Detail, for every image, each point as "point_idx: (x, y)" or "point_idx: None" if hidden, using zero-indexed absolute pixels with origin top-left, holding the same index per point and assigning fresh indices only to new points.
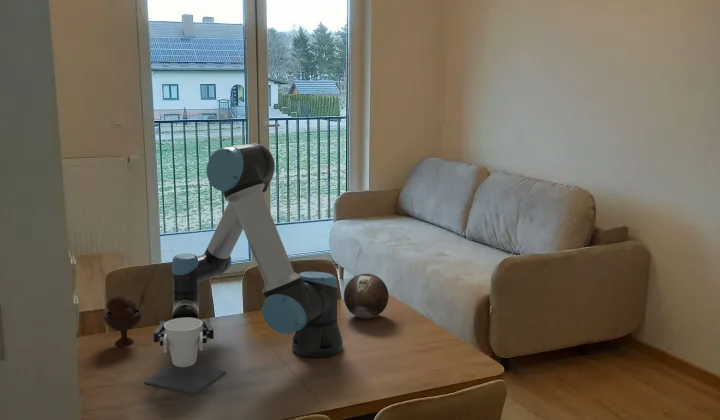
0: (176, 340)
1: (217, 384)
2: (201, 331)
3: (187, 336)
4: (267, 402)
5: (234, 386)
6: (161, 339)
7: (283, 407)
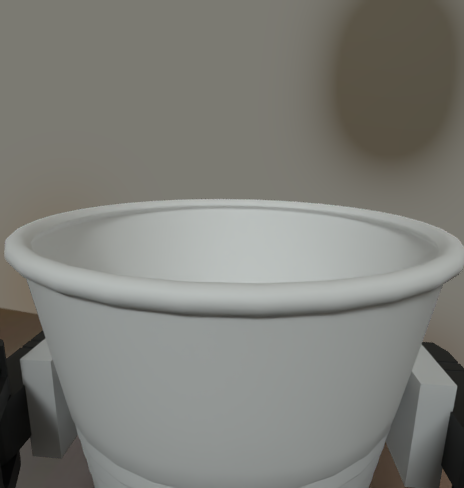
0: (286, 281)
1: (76, 484)
2: (1, 400)
3: (212, 250)
4: (18, 345)
5: (22, 447)
6: (436, 357)
7: (5, 325)
